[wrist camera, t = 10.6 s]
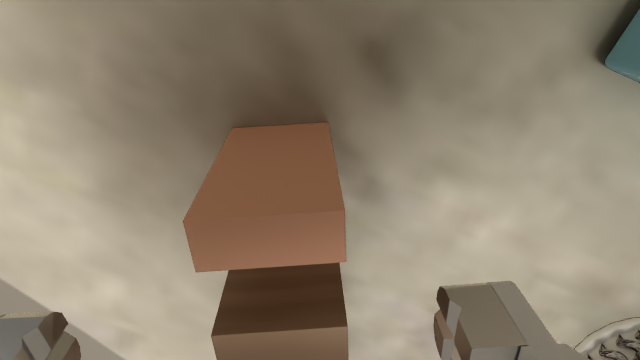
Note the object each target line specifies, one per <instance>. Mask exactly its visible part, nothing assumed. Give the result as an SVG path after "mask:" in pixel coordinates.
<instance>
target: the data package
mask: <svg viewBox="0 0 640 360" xmlns="http://www.w3.org/2000/svg"><path fill="white" fill-rule="evenodd" d="M605 65H606V66H607V67H608V68H610V69H611V70H613V71H615V72H617V73H620V74H622V75H624V76H626V77H628V78H631V79H633V80H635V81H637V82H640V9H639V10H638V12H637V13H636V15H635V16H634V18H633V19H632V21H631V22H630V24H629V25H628V27H627V28H626V30H625V31H624V33H623V34H622V36H621V37H620V39H619V40H618V42H617V43H616V45H615V46H614V48H613V49H612V51H611V52H610V54H609V55H608V57H607V58H606V60H605Z"/></svg>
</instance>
